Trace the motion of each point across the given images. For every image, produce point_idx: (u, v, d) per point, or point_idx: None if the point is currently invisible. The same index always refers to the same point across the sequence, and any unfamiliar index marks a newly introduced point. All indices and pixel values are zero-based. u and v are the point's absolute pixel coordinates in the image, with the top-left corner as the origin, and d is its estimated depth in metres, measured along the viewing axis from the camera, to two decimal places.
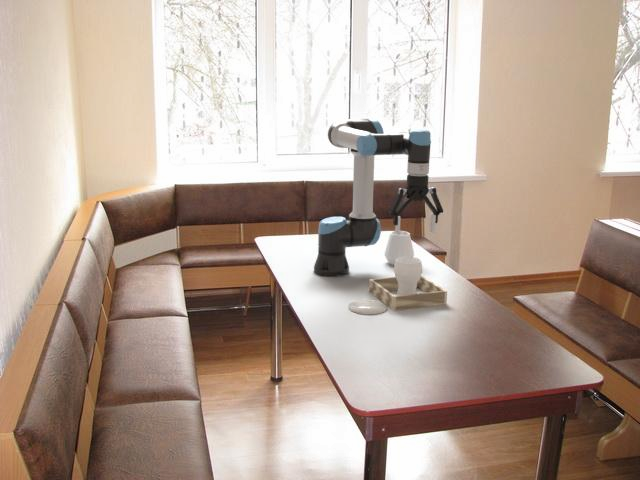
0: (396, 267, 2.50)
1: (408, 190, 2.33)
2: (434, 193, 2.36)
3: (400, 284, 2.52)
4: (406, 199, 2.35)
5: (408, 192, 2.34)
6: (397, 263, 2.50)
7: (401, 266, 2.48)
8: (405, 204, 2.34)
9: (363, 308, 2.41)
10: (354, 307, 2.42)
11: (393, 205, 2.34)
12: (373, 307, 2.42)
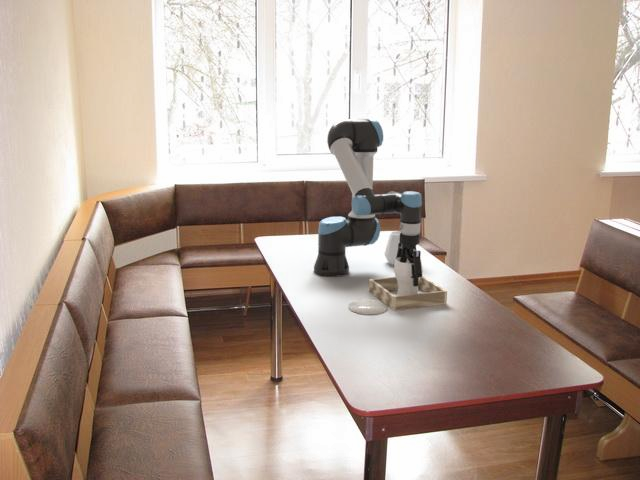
0: (396, 267, 2.50)
1: (402, 245, 2.53)
2: (413, 256, 2.45)
3: (400, 284, 2.52)
4: None
5: (402, 246, 2.53)
6: (397, 263, 2.50)
7: (401, 266, 2.48)
8: None
9: (363, 308, 2.41)
10: (354, 307, 2.42)
11: None
12: (373, 307, 2.42)
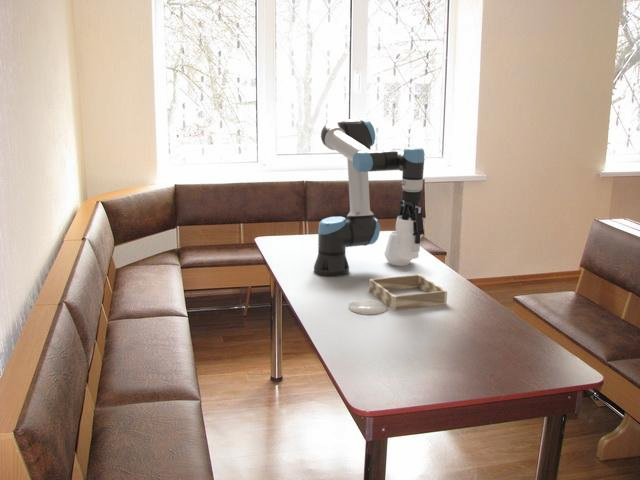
0: (398, 225, 2.46)
1: (404, 202, 2.49)
2: (415, 212, 2.41)
3: (402, 242, 2.48)
4: None
5: (404, 204, 2.49)
6: (399, 220, 2.46)
7: (403, 223, 2.44)
8: (402, 216, 2.51)
9: (363, 308, 2.41)
10: (354, 307, 2.42)
11: None
12: (373, 307, 2.42)
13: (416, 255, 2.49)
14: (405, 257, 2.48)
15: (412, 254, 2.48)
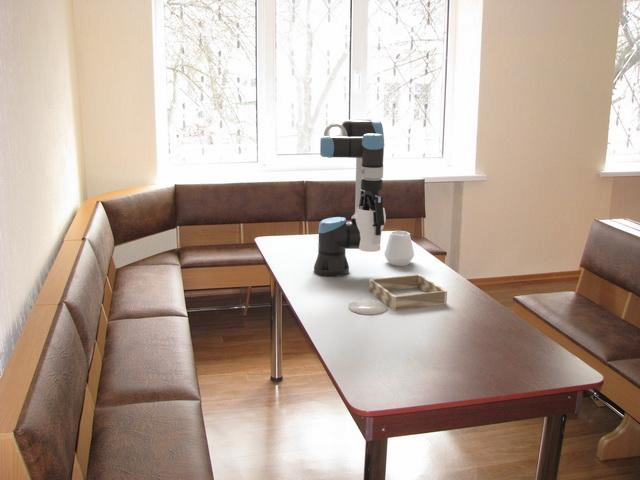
0: (357, 215, 2.33)
1: (364, 192, 2.36)
2: (375, 202, 2.28)
3: (362, 234, 2.35)
4: None
5: (364, 194, 2.36)
6: (358, 211, 2.33)
7: (362, 214, 2.31)
8: (363, 206, 2.38)
9: (363, 308, 2.41)
10: (354, 307, 2.42)
11: None
12: (373, 307, 2.42)
13: (377, 248, 2.35)
14: (366, 250, 2.35)
15: (373, 246, 2.34)
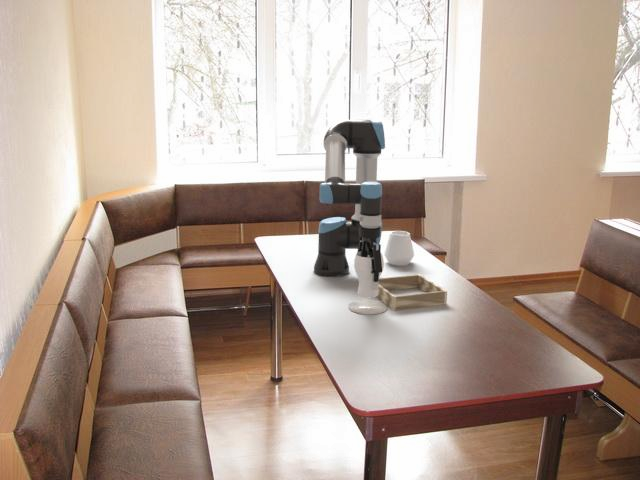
0: (356, 262, 2.37)
1: (363, 238, 2.40)
2: (373, 250, 2.32)
3: (360, 280, 2.39)
4: None
5: (363, 240, 2.40)
6: (357, 257, 2.37)
7: (361, 261, 2.35)
8: (361, 252, 2.42)
9: (363, 308, 2.41)
10: (354, 307, 2.42)
11: None
12: (373, 307, 2.42)
13: (376, 293, 2.39)
14: (364, 295, 2.39)
15: (371, 292, 2.38)
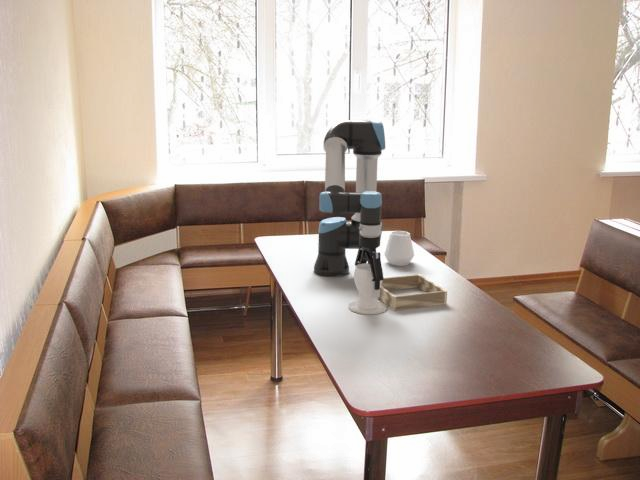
0: (355, 274, 2.38)
1: (362, 247, 2.41)
2: (373, 258, 2.32)
3: (360, 292, 2.40)
4: None
5: (362, 249, 2.41)
6: (356, 270, 2.38)
7: (360, 273, 2.36)
8: (360, 259, 2.43)
9: None
10: (354, 307, 2.42)
11: None
12: None
13: (375, 305, 2.41)
14: (364, 307, 2.40)
15: (371, 304, 2.40)
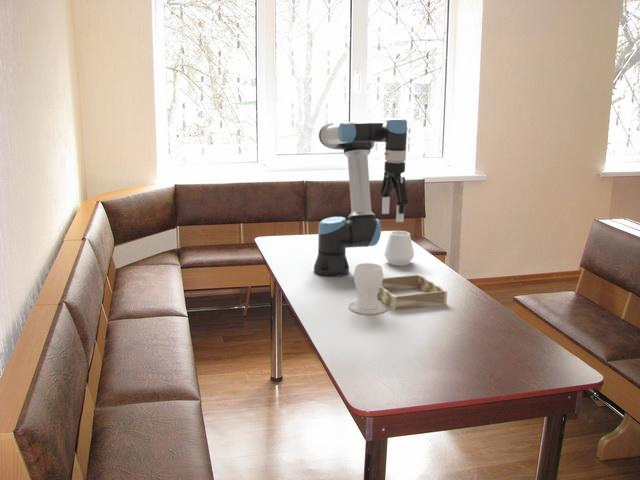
0: (355, 274, 2.38)
1: (387, 174, 2.48)
2: (397, 182, 2.40)
3: (360, 292, 2.40)
4: None
5: (387, 176, 2.49)
6: (356, 270, 2.38)
7: (360, 273, 2.36)
8: (385, 186, 2.51)
9: None
10: (354, 307, 2.42)
11: None
12: None
13: (375, 305, 2.41)
14: (364, 307, 2.40)
15: (371, 304, 2.40)
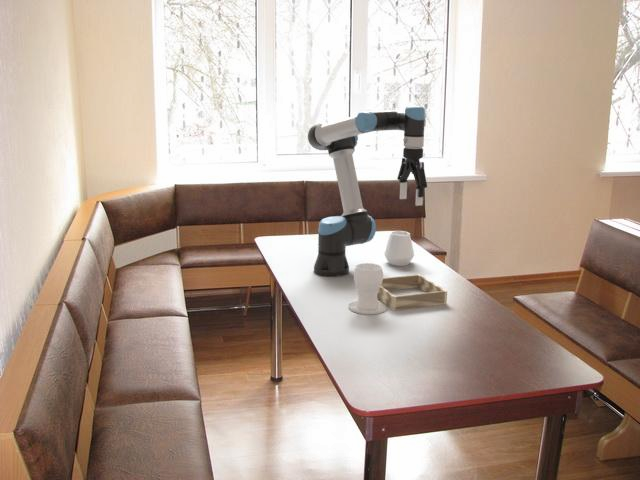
0: (355, 274, 2.38)
1: (406, 160, 2.59)
2: (417, 167, 2.50)
3: (360, 292, 2.40)
4: None
5: (406, 162, 2.59)
6: (356, 270, 2.38)
7: (360, 273, 2.36)
8: (403, 172, 2.61)
9: None
10: (354, 307, 2.42)
11: None
12: None
13: (375, 305, 2.41)
14: (364, 307, 2.40)
15: (371, 304, 2.40)
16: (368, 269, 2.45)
